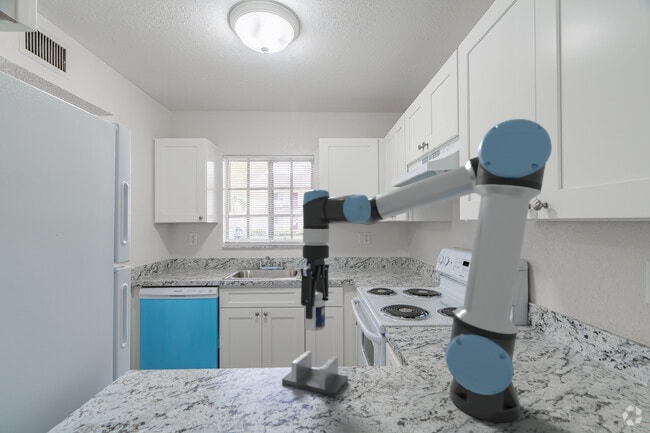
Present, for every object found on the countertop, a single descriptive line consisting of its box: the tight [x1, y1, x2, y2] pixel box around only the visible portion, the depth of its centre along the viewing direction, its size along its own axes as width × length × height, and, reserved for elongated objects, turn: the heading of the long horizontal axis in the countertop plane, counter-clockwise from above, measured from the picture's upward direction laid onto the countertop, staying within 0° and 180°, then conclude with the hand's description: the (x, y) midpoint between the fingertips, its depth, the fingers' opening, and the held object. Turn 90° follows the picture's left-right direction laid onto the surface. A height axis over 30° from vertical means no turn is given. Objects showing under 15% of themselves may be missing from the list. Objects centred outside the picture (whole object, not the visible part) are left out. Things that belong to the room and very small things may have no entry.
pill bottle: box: [314, 292, 326, 332], centre depth 82 cm, size 5×5×10 cm
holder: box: [281, 350, 349, 399], centre depth 81 cm, size 16×9×6 cm, turn 65°
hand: (315, 326), depth 82 cm, fingers closed on pill bottle, 5 cm apart
